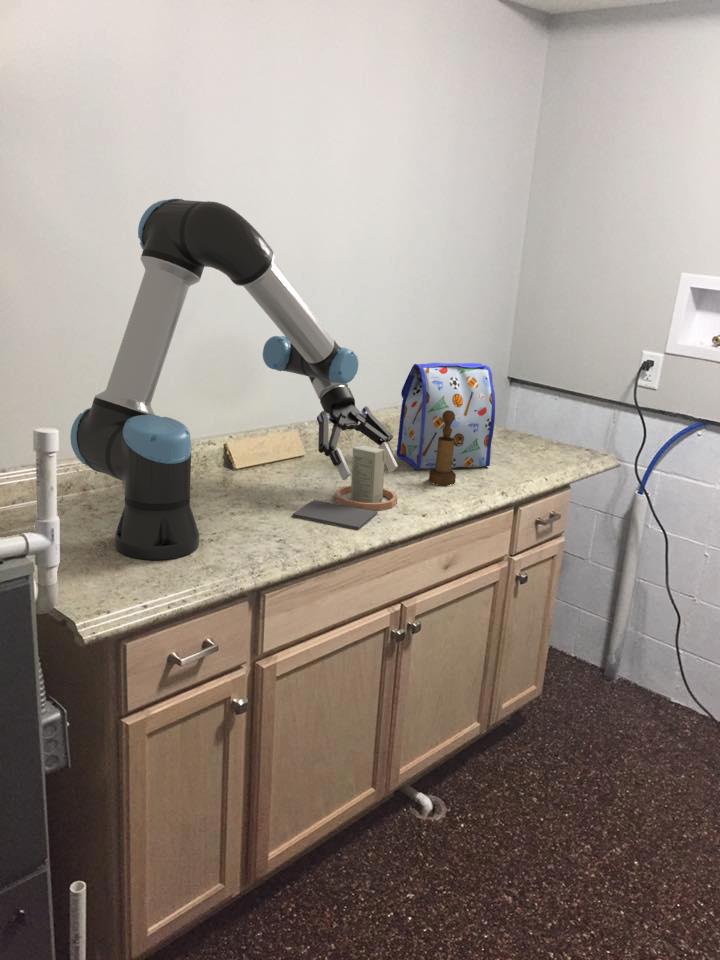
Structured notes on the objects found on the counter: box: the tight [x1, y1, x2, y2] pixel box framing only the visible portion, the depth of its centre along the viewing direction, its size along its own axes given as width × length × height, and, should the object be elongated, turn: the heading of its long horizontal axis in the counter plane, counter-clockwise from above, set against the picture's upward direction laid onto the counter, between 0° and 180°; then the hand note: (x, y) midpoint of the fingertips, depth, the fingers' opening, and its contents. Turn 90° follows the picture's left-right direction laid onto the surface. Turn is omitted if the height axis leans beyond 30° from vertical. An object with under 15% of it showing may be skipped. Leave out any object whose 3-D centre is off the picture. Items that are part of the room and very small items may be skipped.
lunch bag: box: [396, 362, 496, 470], centre depth 222 cm, size 23×17×27 cm
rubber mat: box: [292, 499, 378, 531], centre depth 178 cm, size 11×15×1 cm
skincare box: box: [350, 444, 386, 503], centre depth 188 cm, size 6×4×12 cm
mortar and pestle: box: [428, 410, 457, 486], centre depth 205 cm, size 7×6×18 cm
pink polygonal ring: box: [334, 484, 398, 512], centre depth 189 cm, size 14×14×2 cm
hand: (370, 473), depth 188 cm, fingers open, 13 cm apart
